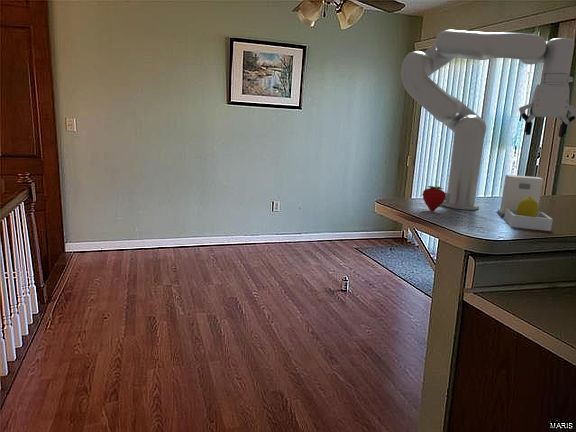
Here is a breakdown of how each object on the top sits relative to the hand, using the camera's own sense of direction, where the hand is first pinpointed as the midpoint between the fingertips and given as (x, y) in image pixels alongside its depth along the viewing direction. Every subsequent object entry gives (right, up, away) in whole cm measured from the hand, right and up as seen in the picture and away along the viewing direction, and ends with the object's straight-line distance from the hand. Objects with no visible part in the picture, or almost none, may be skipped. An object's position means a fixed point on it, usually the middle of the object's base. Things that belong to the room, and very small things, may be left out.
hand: (544, 135), depth 148 cm
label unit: (-8, -26, +2) cm, 27 cm away
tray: (-11, -28, -9) cm, 32 cm away
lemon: (-11, -28, -9) cm, 31 cm away
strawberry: (-35, -24, +4) cm, 43 cm away
